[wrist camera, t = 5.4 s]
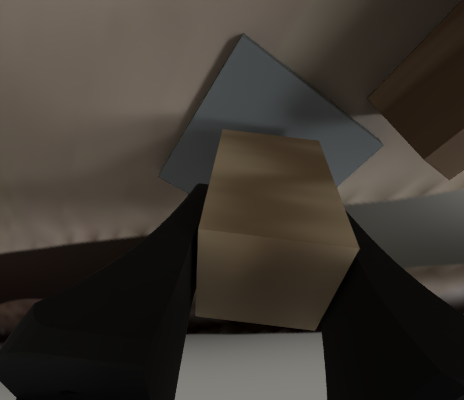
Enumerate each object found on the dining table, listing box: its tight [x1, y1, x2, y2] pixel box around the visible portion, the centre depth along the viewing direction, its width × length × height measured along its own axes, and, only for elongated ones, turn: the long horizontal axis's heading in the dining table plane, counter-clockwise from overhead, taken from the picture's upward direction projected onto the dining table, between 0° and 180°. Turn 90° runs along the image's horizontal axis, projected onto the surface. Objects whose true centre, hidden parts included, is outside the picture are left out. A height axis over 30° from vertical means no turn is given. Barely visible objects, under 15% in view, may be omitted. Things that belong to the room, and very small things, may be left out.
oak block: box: [195, 129, 360, 330], centre depth 11 cm, size 4×4×6 cm
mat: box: [158, 33, 383, 194], centre depth 15 cm, size 8×8×1 cm
